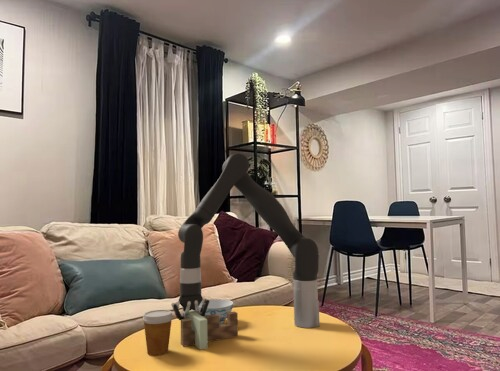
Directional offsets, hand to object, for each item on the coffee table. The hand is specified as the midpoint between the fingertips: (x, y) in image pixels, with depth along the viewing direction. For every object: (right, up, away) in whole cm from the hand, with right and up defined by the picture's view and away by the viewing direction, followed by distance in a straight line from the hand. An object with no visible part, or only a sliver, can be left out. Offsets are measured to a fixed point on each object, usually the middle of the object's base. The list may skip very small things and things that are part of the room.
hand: (190, 330), depth 130 cm
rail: (+7, -2, -3) cm, 8 cm away
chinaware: (+7, -4, +17) cm, 19 cm away
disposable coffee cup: (-8, -2, -13) cm, 16 cm away
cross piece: (+3, -2, -5) cm, 6 cm away
